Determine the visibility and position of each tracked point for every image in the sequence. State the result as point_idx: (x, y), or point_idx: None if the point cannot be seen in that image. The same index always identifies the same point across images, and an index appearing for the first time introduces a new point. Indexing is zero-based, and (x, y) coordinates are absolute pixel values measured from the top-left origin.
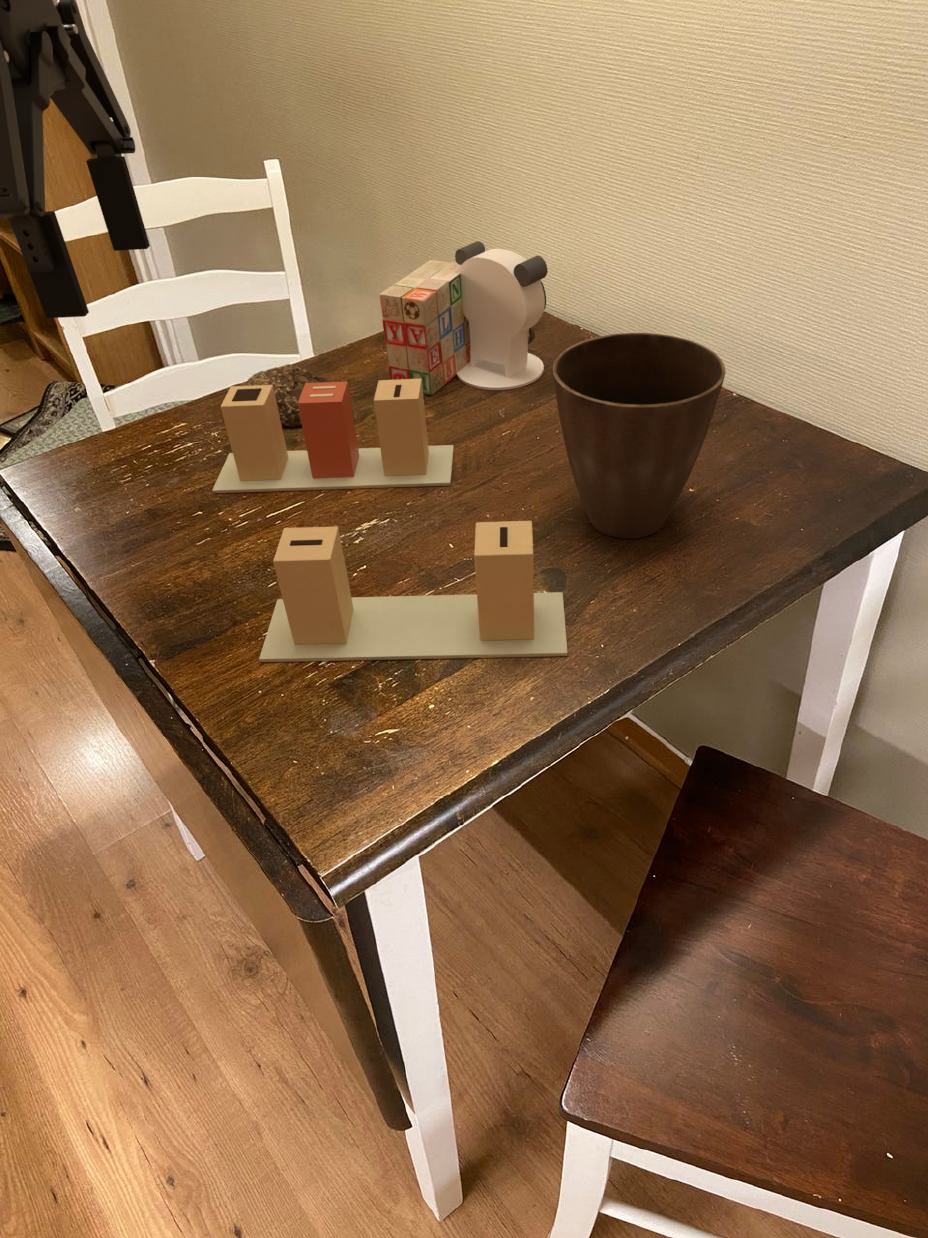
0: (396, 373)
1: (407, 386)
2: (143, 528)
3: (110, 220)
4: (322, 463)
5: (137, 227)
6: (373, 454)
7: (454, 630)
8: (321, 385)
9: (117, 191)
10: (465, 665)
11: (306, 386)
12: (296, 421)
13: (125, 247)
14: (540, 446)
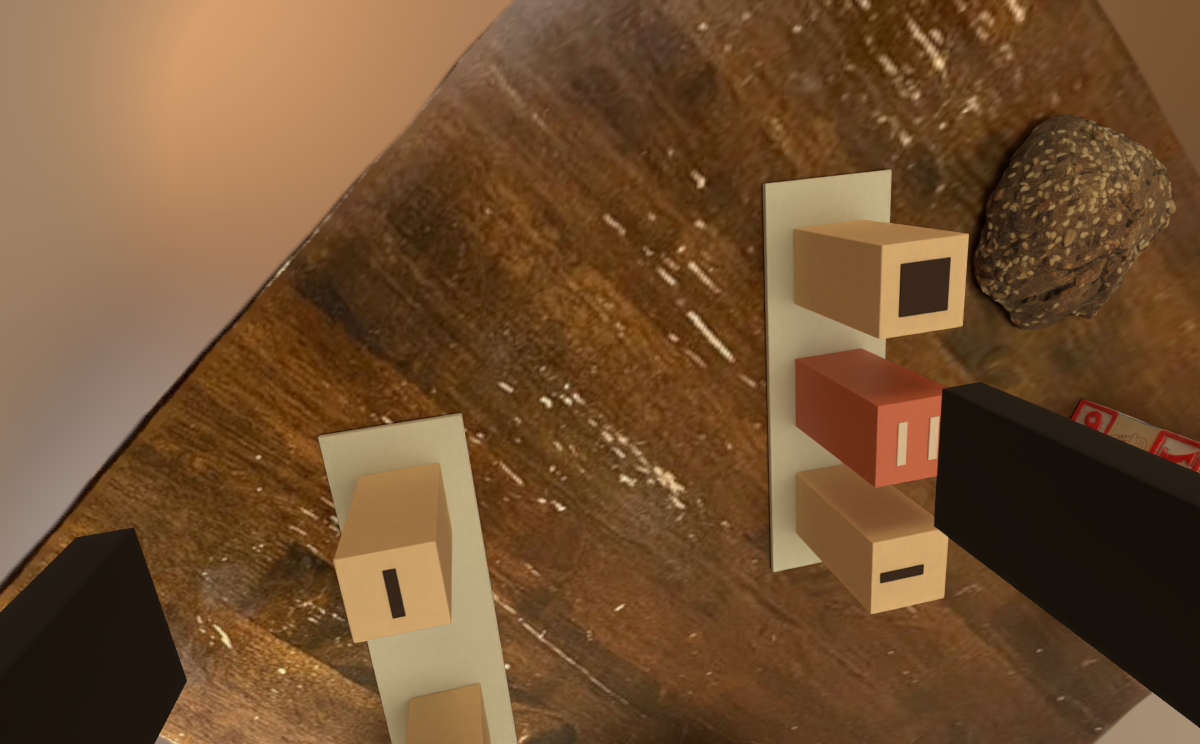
0: (1100, 422)
1: (916, 584)
2: (650, 85)
3: (1043, 467)
4: (808, 389)
5: (1001, 560)
6: None
7: (425, 665)
8: None
9: (1167, 628)
10: (366, 687)
11: None
12: (980, 271)
13: (945, 446)
14: (867, 660)
